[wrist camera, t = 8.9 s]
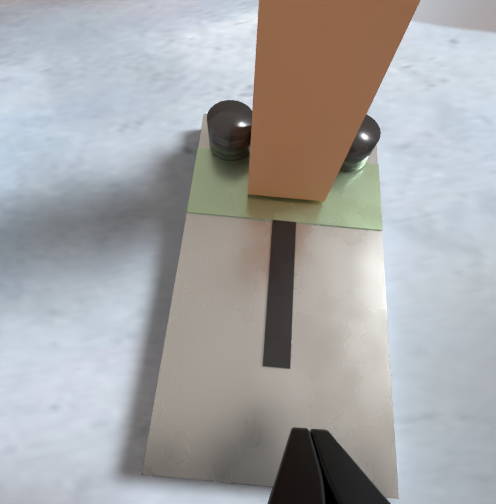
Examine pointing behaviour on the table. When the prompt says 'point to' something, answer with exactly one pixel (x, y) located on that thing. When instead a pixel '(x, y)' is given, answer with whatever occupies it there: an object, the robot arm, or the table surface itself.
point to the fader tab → (316, 87)
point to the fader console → (274, 320)
